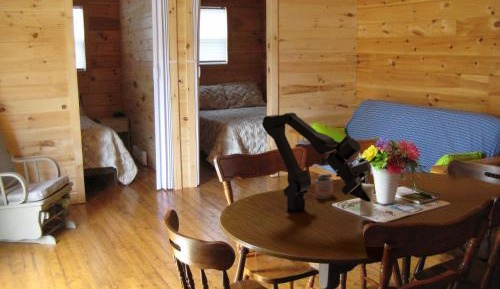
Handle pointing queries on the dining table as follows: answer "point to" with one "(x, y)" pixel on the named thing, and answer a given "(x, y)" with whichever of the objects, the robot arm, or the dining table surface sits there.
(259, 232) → the dining table surface
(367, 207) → the block
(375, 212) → the plinth
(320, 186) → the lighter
